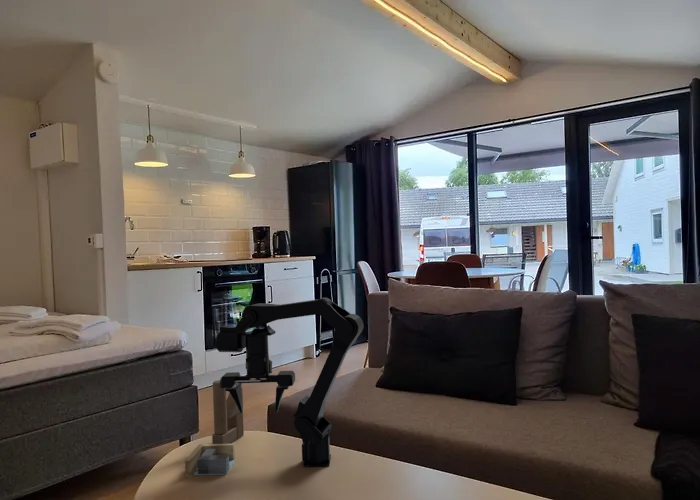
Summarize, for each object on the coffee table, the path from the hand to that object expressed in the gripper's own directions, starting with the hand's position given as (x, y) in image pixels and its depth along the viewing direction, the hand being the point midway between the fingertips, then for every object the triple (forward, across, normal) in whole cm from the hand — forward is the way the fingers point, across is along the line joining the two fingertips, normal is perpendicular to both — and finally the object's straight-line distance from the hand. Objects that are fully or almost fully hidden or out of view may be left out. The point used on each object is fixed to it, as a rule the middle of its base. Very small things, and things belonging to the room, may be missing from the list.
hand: (259, 412), depth 134 cm
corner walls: (+12, +11, +5) cm, 17 cm away
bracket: (+12, +10, +6) cm, 17 cm away
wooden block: (+12, +12, -13) cm, 22 cm away
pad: (+12, +10, +5) cm, 17 cm away
